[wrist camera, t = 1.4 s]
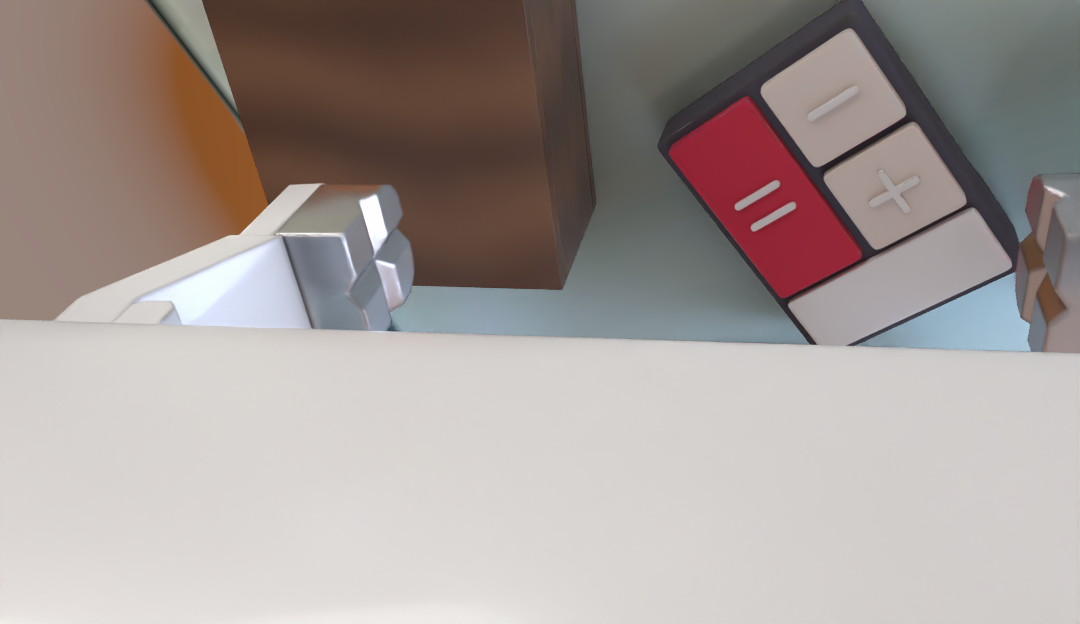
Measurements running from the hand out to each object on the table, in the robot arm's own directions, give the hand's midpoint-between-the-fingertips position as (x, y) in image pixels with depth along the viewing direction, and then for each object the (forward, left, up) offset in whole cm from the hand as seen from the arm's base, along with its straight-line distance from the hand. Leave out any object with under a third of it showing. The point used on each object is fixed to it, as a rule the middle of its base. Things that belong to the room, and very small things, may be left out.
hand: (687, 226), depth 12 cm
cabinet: (+11, -17, -34) cm, 40 cm away
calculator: (+17, +3, -34) cm, 38 cm away
